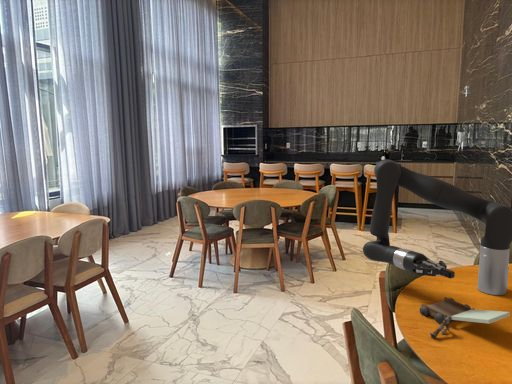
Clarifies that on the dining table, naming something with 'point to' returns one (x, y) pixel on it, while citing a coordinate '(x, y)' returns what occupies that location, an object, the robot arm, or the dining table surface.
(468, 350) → the dining table surface
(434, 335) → the wooden post with brackets
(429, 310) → the flatbed
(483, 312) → the panel
